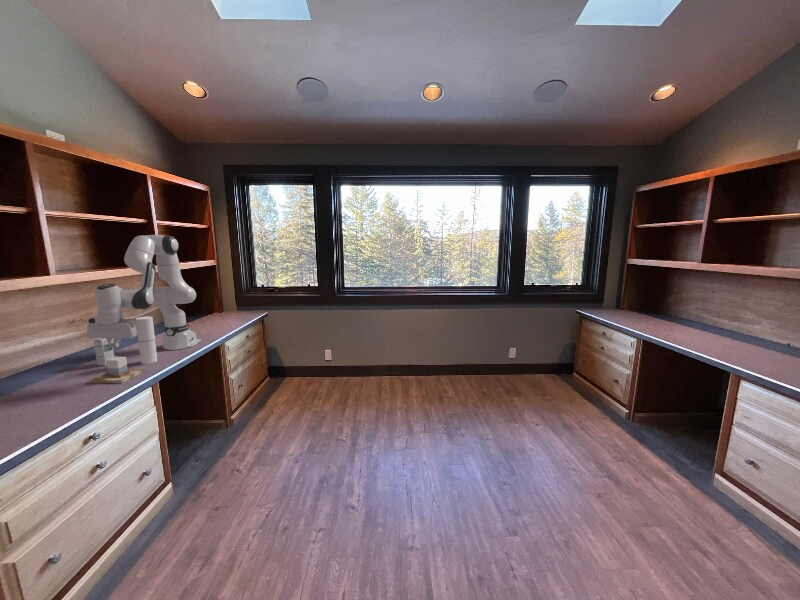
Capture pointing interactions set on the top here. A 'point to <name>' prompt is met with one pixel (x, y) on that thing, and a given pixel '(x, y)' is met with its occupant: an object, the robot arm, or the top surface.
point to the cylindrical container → (146, 340)
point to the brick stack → (117, 365)
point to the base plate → (117, 377)
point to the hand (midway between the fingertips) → (114, 346)
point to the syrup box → (103, 351)
